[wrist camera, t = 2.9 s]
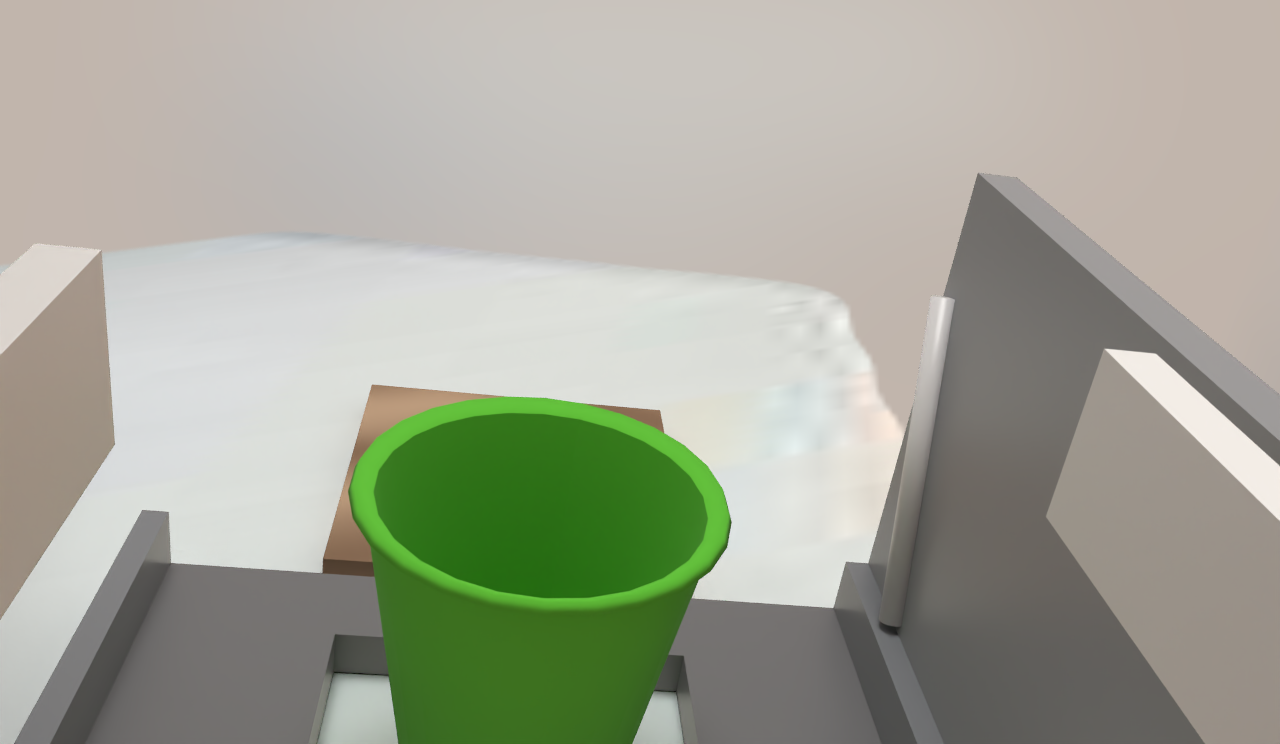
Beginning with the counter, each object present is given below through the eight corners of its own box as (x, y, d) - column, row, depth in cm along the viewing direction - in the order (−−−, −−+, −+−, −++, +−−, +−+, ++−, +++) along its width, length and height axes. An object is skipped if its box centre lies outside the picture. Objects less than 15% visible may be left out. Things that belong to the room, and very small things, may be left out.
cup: (277, 914, 29) (280, 550, 24) (405, 676, 37) (426, 369, 32) (632, 1004, 28) (709, 647, 23) (682, 741, 36) (747, 435, 31)
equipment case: (1070, 1136, 26) (1399, 493, 19) (-110, 1130, 23) (-297, 345, 15) (878, 645, 42) (1016, 177, 34) (147, 598, 38) (117, 68, 31)
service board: (688, 606, 42) (693, 584, 42) (322, 582, 40) (323, 558, 40) (656, 429, 54) (660, 410, 53) (371, 404, 52) (372, 384, 51)
